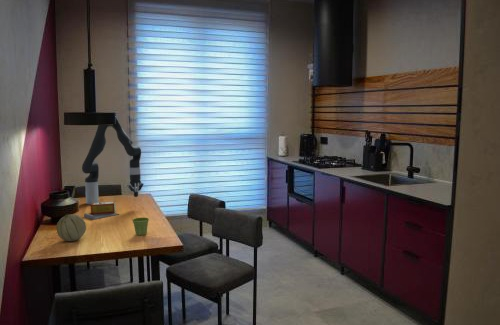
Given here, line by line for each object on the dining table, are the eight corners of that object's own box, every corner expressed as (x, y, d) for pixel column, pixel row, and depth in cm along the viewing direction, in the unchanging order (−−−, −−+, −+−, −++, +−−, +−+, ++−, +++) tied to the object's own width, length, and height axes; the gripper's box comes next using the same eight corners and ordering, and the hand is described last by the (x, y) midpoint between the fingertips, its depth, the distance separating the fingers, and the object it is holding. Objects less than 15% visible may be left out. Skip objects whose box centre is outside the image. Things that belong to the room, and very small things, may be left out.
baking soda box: (114, 203, 288) (89, 205, 285) (114, 212, 289) (90, 214, 285) (115, 201, 298) (92, 202, 294) (116, 210, 298) (92, 211, 295)
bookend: (84, 217, 279) (83, 213, 279) (109, 212, 294) (109, 208, 294) (93, 219, 272) (92, 216, 271) (119, 214, 286) (119, 211, 286)
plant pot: (141, 237, 231) (140, 222, 231) (129, 235, 236) (128, 220, 235) (153, 233, 240) (152, 218, 239) (140, 231, 244) (140, 216, 243)
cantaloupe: (92, 237, 231) (90, 211, 229) (75, 245, 217) (74, 217, 215) (68, 236, 234) (67, 210, 233) (51, 243, 220) (49, 216, 219)
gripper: (139, 172, 310) (140, 194, 312) (124, 174, 300) (125, 197, 302) (145, 172, 305) (146, 196, 307) (130, 174, 295) (131, 198, 297)
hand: (135, 196), depth 304 cm, fingers closed
